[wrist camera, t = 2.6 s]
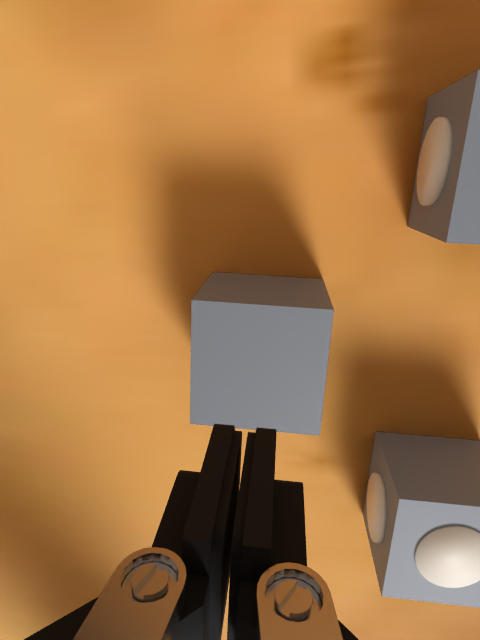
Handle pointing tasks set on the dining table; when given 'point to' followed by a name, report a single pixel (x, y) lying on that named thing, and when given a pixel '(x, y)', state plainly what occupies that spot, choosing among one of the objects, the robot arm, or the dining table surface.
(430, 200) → the badge block
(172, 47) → the dining table surface
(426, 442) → the badge block
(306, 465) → the dining table surface
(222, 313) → the plain block
